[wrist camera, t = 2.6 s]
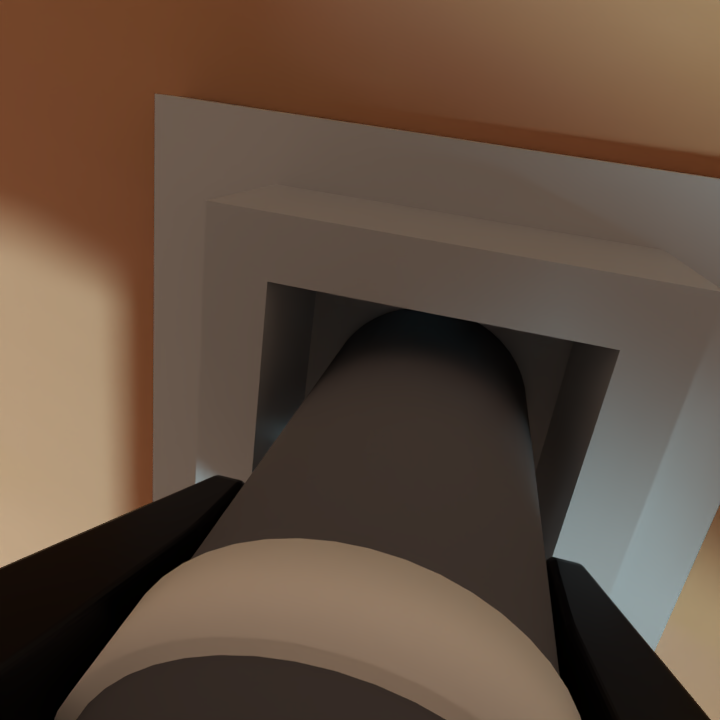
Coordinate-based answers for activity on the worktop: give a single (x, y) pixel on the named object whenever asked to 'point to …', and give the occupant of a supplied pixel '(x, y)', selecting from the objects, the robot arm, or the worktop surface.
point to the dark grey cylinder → (362, 558)
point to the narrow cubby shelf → (449, 312)
